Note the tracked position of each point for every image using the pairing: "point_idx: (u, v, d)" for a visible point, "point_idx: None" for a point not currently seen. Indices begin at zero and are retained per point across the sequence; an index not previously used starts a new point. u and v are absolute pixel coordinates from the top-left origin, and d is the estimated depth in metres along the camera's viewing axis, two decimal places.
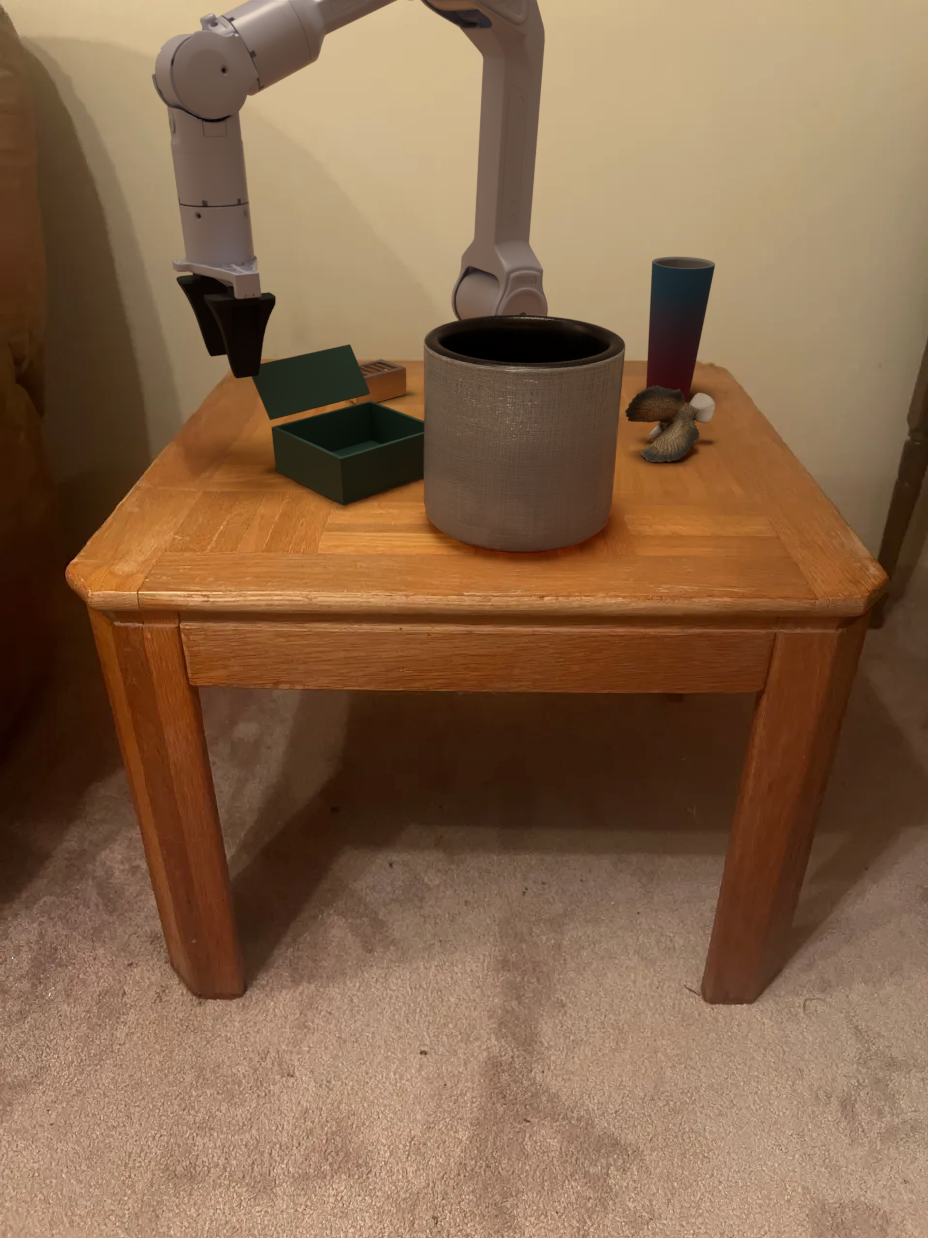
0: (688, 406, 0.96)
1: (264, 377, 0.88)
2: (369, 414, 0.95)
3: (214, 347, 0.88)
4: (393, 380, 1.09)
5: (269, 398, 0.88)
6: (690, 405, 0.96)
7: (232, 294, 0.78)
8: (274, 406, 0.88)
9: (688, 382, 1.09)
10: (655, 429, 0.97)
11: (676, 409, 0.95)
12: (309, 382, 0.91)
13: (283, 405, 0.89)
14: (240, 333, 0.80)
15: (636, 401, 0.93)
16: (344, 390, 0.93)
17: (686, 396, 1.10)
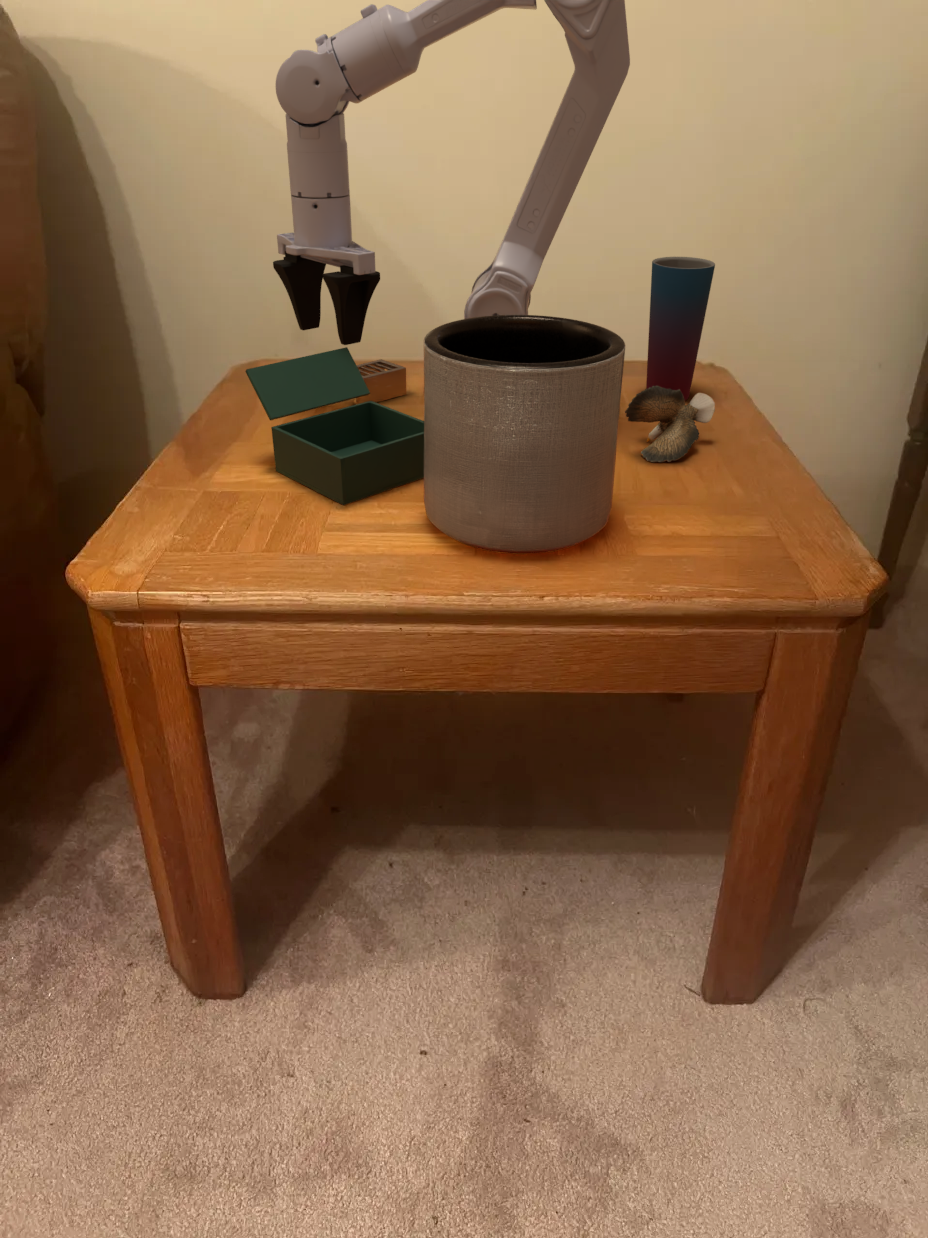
0: (688, 406, 0.96)
1: (262, 379, 0.89)
2: (369, 414, 0.95)
3: (305, 322, 1.01)
4: (393, 380, 1.09)
5: (268, 399, 0.88)
6: (690, 405, 0.96)
7: (348, 271, 0.92)
8: (273, 406, 0.88)
9: (688, 382, 1.09)
10: (655, 429, 0.97)
11: (676, 409, 0.95)
12: (308, 383, 0.91)
13: (282, 405, 0.89)
14: (349, 305, 0.94)
15: (636, 401, 0.93)
16: (344, 391, 0.93)
17: (686, 396, 1.10)
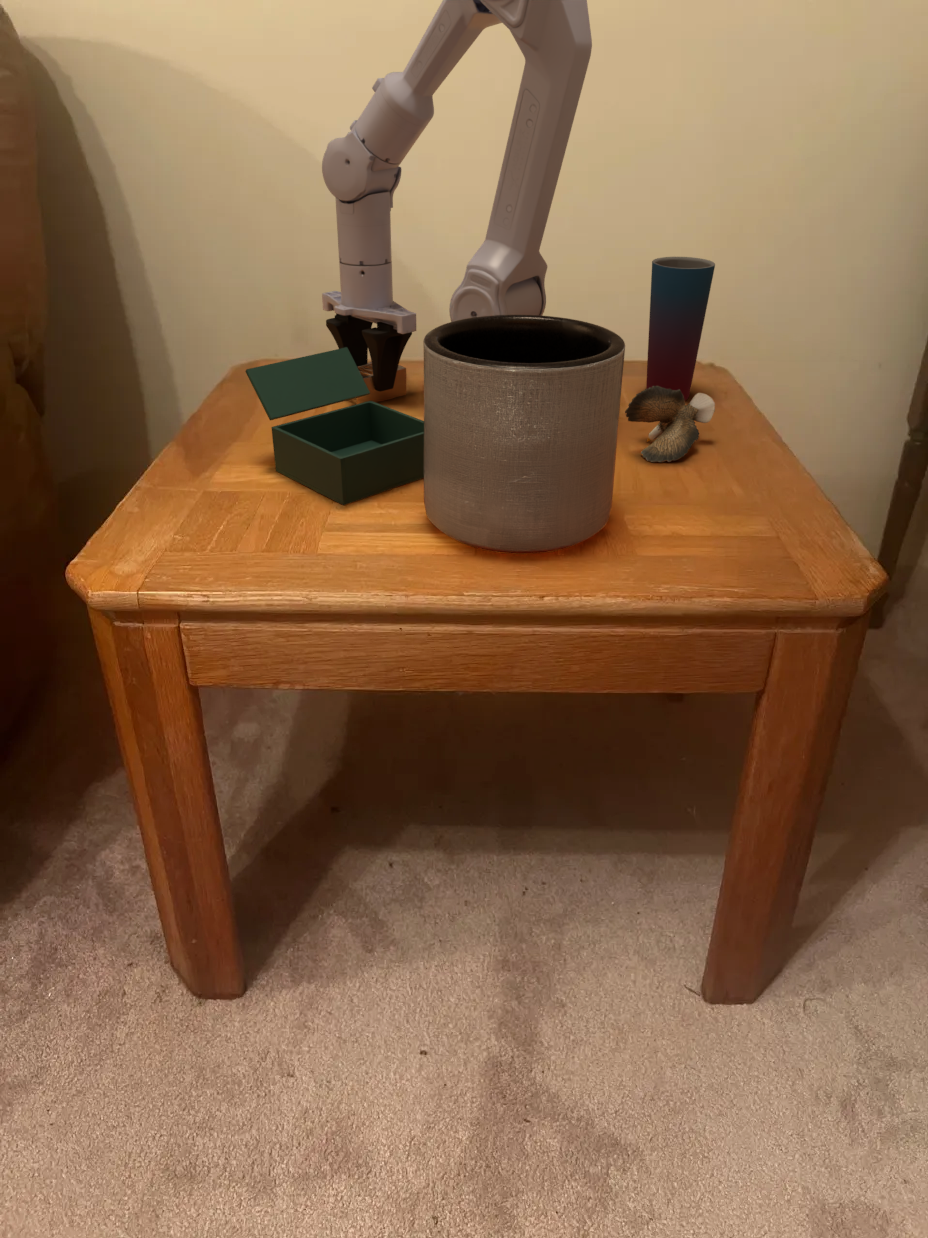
0: (688, 406, 0.96)
1: (262, 379, 0.89)
2: (369, 414, 0.95)
3: None
4: None
5: (268, 399, 0.88)
6: (690, 405, 0.96)
7: (385, 328, 1.03)
8: (273, 406, 0.88)
9: (688, 382, 1.09)
10: (655, 429, 0.97)
11: (676, 409, 0.95)
12: (308, 383, 0.91)
13: (282, 405, 0.89)
14: (384, 357, 1.06)
15: (636, 401, 0.93)
16: (344, 391, 0.93)
17: (686, 396, 1.10)
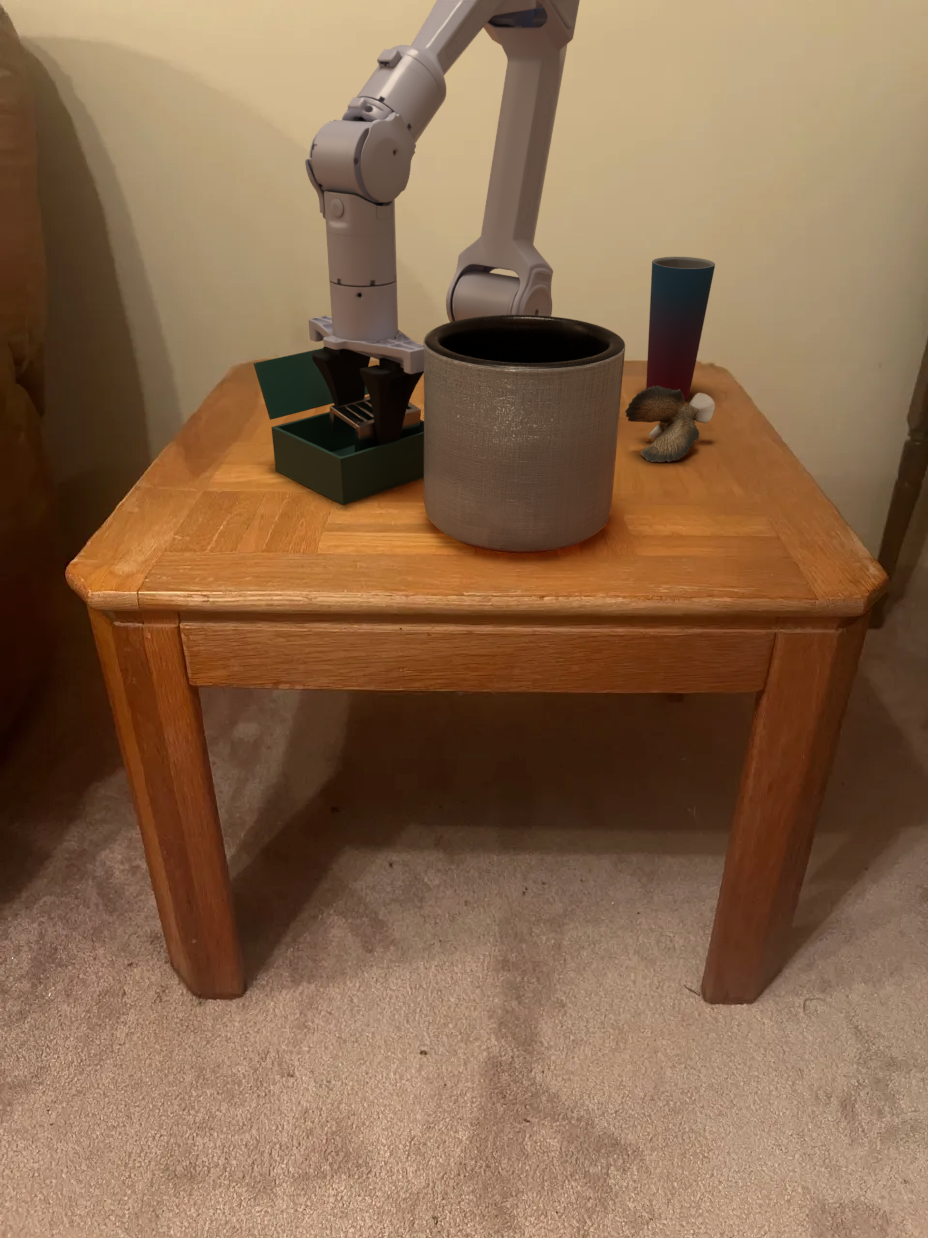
0: (688, 406, 0.96)
1: (269, 375, 0.87)
2: None
3: None
4: (403, 425, 0.86)
5: (271, 397, 0.88)
6: (690, 405, 0.96)
7: (389, 366, 0.80)
8: (275, 406, 0.88)
9: (688, 382, 1.09)
10: (655, 429, 0.97)
11: (676, 409, 0.95)
12: (312, 381, 0.90)
13: (284, 405, 0.89)
14: (388, 401, 0.83)
15: (636, 401, 0.93)
16: None
17: (686, 396, 1.10)
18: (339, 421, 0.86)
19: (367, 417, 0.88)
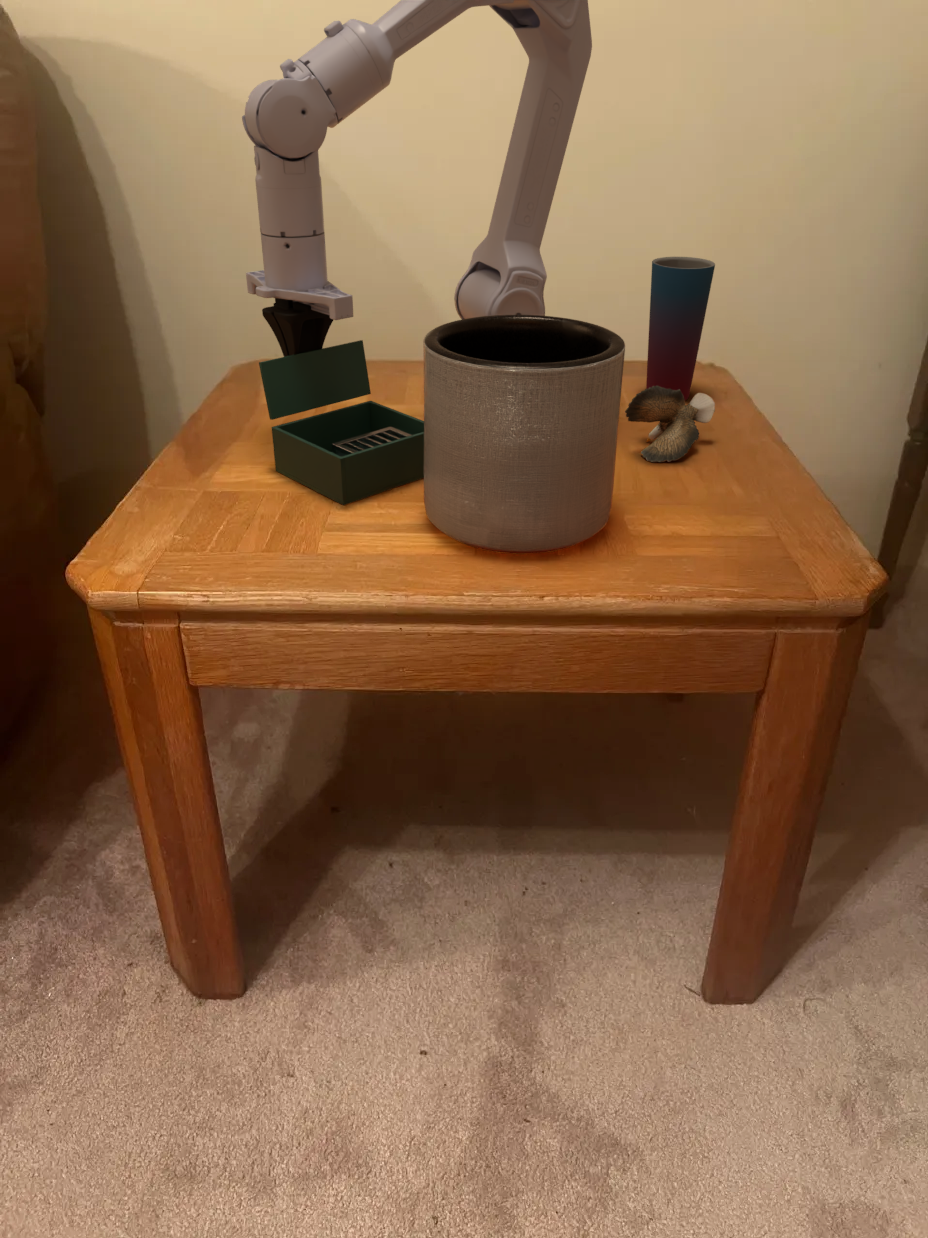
0: (688, 406, 0.96)
1: (273, 375, 0.87)
2: (369, 414, 0.95)
3: None
4: None
5: (274, 397, 0.87)
6: (690, 405, 0.96)
7: (301, 308, 0.87)
8: (277, 406, 0.88)
9: (688, 382, 1.09)
10: (655, 429, 0.97)
11: (676, 409, 0.95)
12: (315, 381, 0.90)
13: (285, 405, 0.89)
14: (303, 343, 0.90)
15: (636, 401, 0.93)
16: (347, 391, 0.93)
17: (686, 396, 1.10)
18: None
19: None
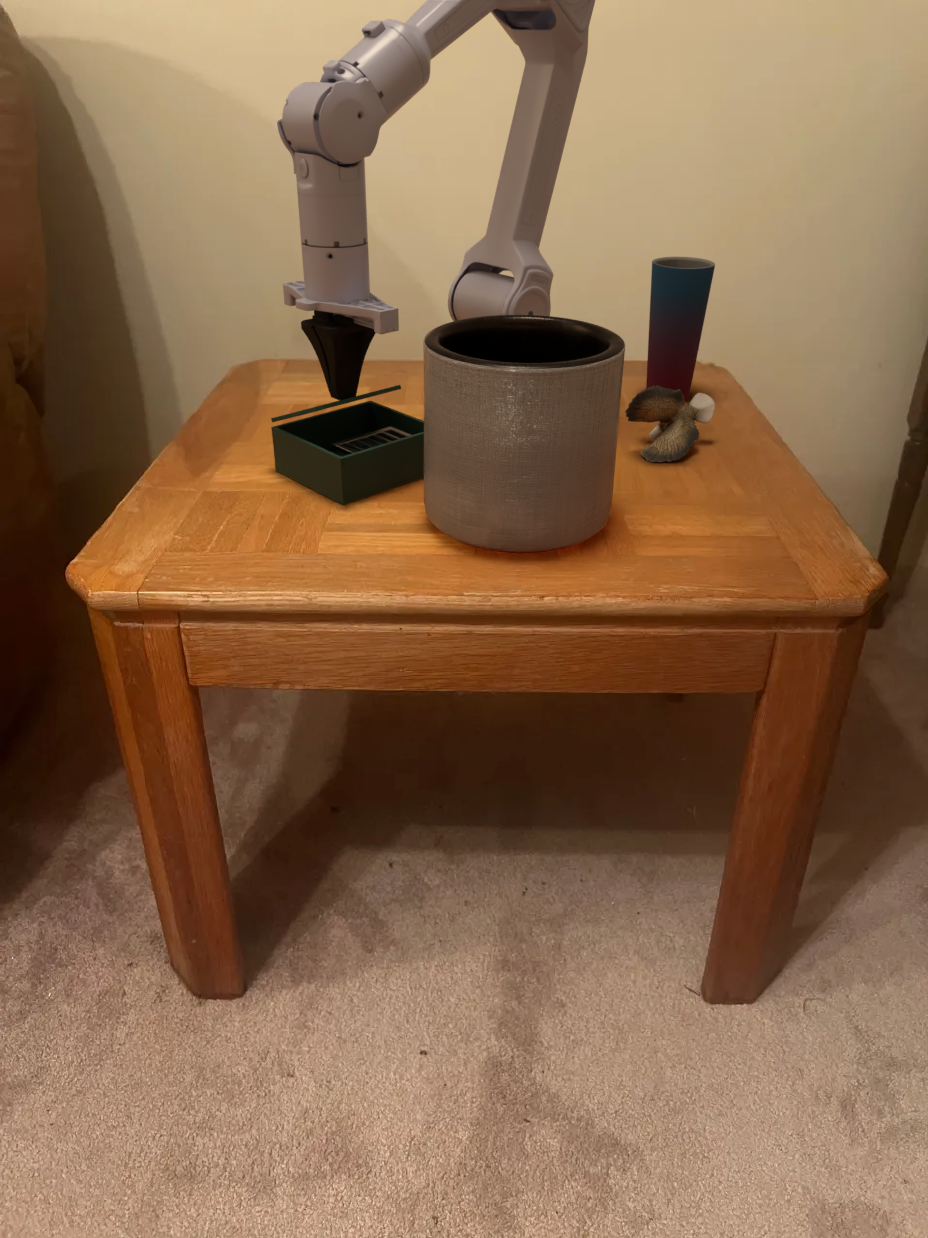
0: (688, 406, 0.96)
1: None
2: (369, 414, 0.95)
3: None
4: None
5: None
6: (690, 405, 0.96)
7: (343, 321, 0.83)
8: None
9: (688, 382, 1.09)
10: (655, 429, 0.97)
11: (676, 409, 0.95)
12: None
13: None
14: (344, 358, 0.86)
15: (636, 401, 0.93)
16: None
17: (686, 396, 1.10)
18: None
19: None
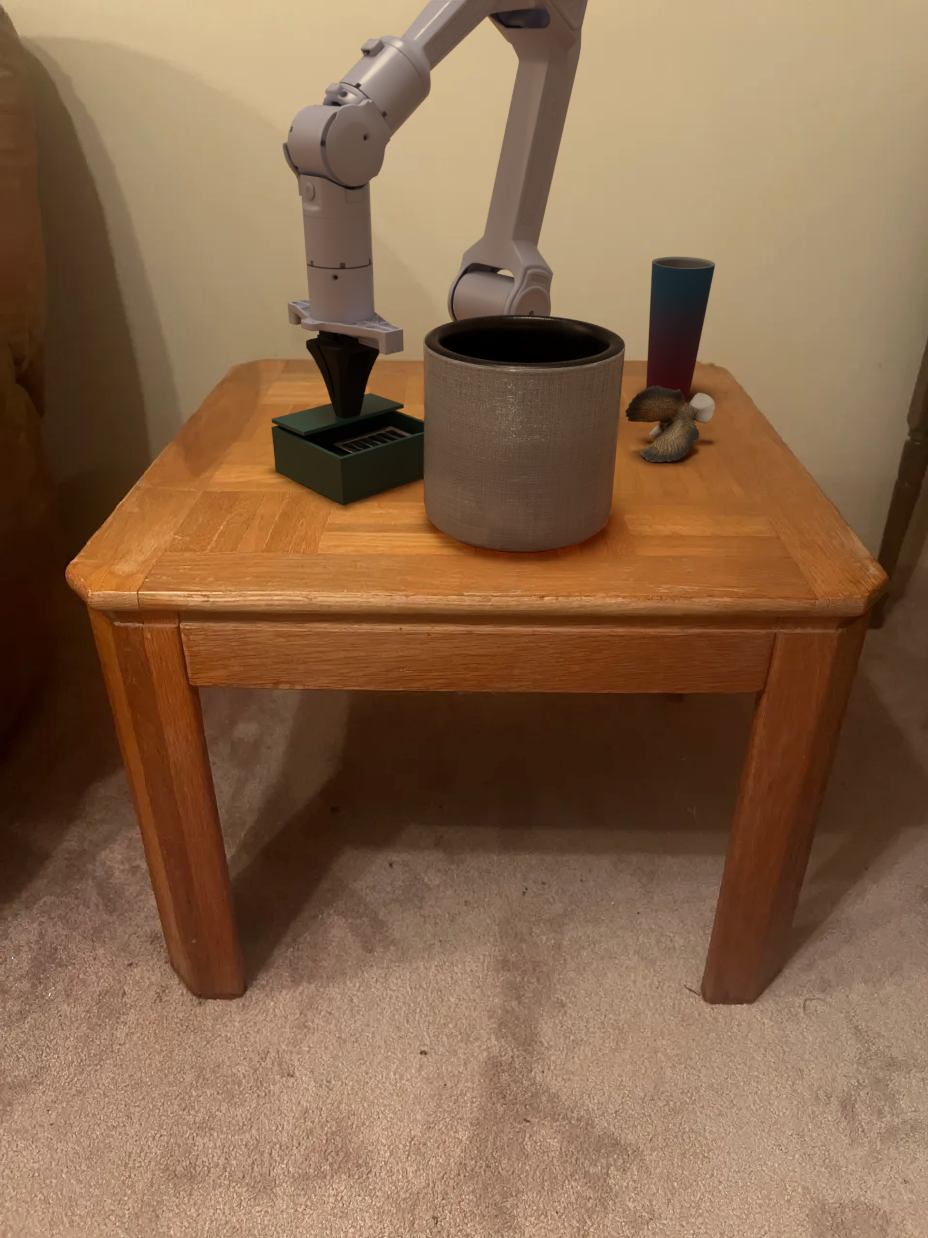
0: (688, 406, 0.96)
1: None
2: None
3: None
4: None
5: None
6: (690, 405, 0.96)
7: (348, 341, 0.83)
8: None
9: (688, 382, 1.09)
10: (655, 429, 0.97)
11: (676, 409, 0.95)
12: None
13: None
14: (349, 377, 0.86)
15: (636, 401, 0.93)
16: None
17: (686, 396, 1.10)
18: None
19: None
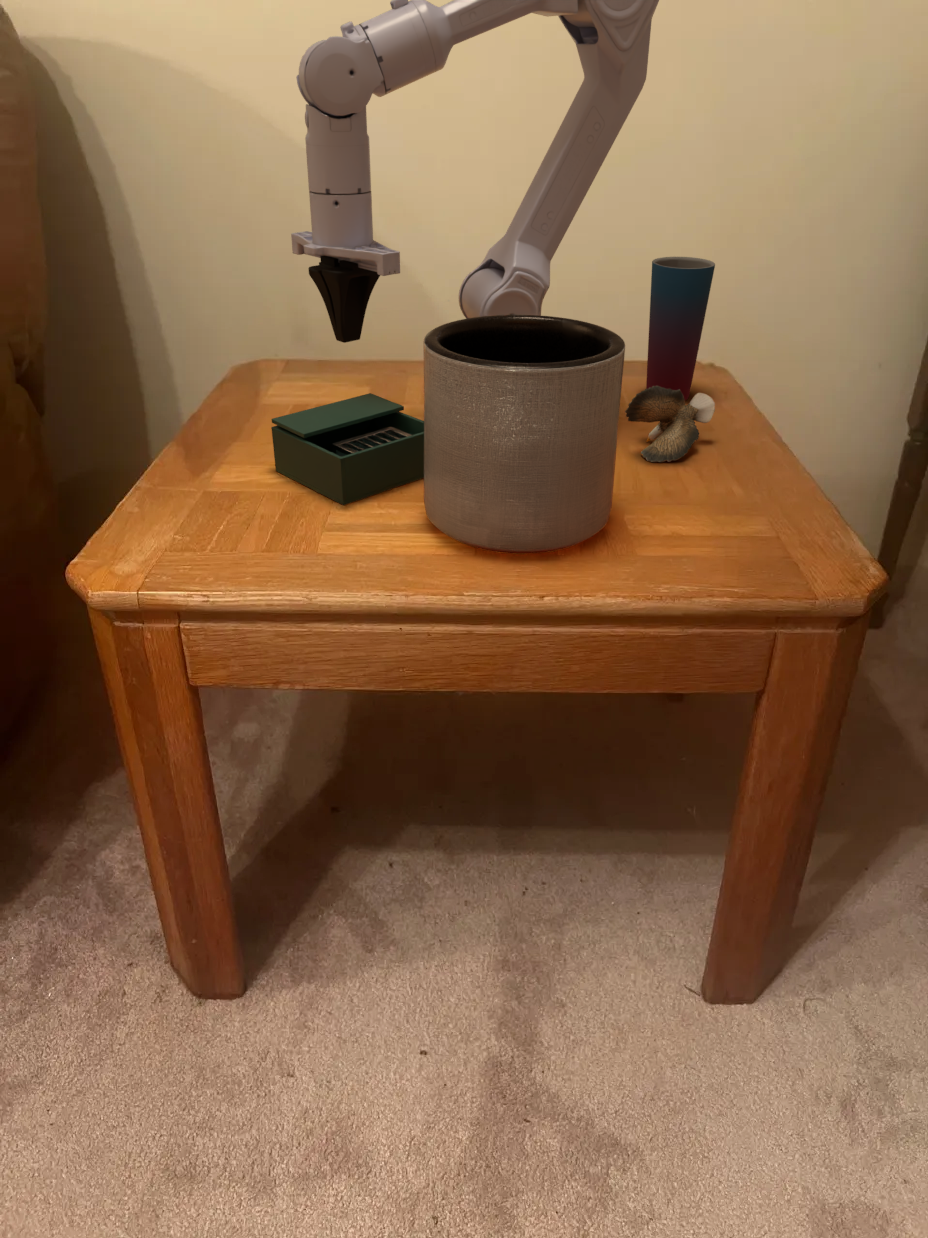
0: (688, 406, 0.96)
1: None
2: None
3: None
4: None
5: None
6: (690, 405, 0.96)
7: (348, 266, 0.89)
8: None
9: (688, 382, 1.09)
10: (655, 429, 0.97)
11: (676, 409, 0.95)
12: None
13: None
14: (349, 302, 0.91)
15: (636, 401, 0.93)
16: None
17: (686, 396, 1.10)
18: None
19: None
